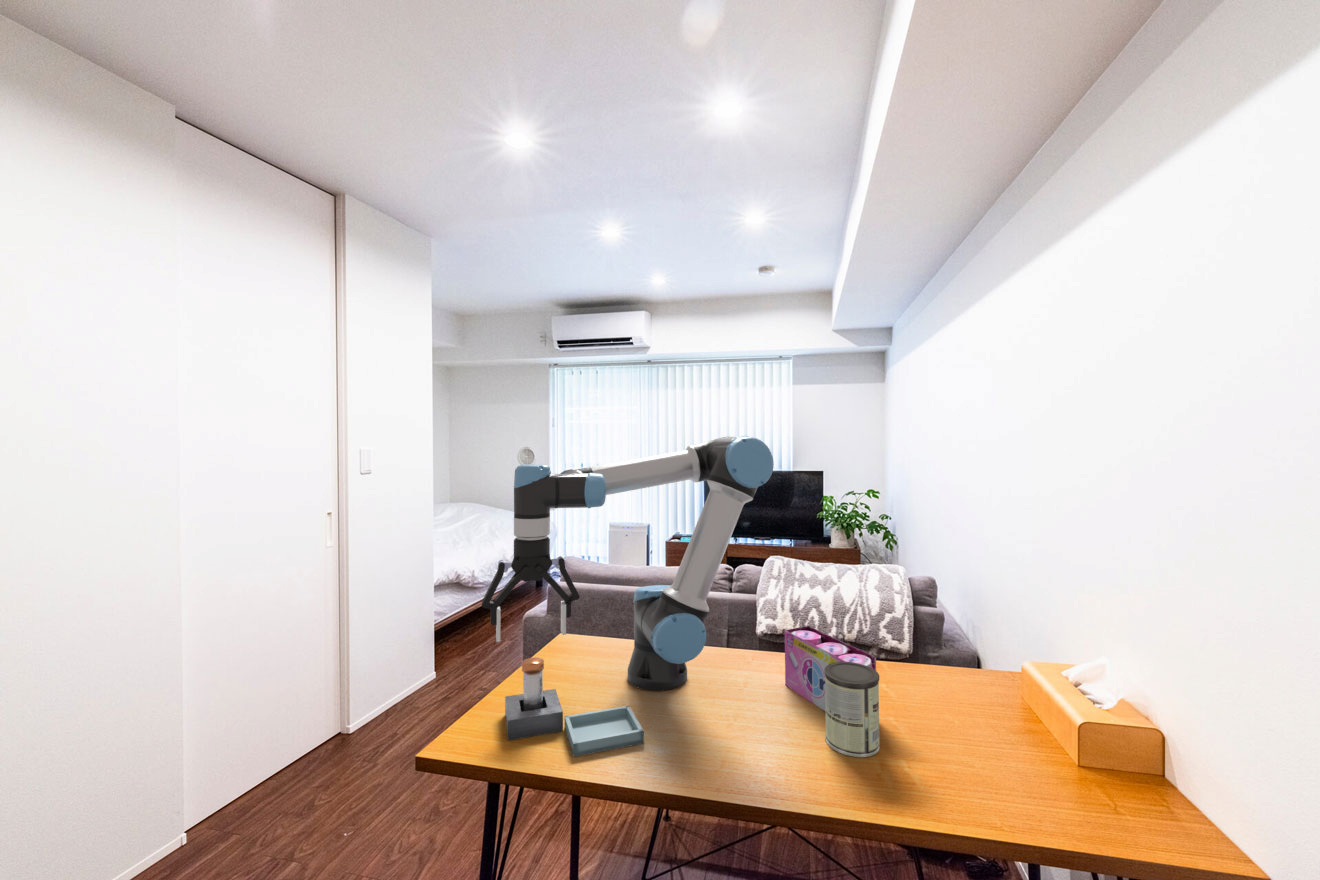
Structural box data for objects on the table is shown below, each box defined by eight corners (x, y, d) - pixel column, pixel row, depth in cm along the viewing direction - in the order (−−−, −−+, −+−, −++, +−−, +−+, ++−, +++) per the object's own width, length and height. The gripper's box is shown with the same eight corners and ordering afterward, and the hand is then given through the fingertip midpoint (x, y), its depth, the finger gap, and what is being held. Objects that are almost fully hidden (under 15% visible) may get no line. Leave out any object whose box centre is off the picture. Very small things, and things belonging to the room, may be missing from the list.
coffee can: (825, 725, 115) (825, 658, 115) (878, 734, 111) (878, 665, 111) (823, 752, 105) (823, 679, 105) (881, 762, 101) (880, 686, 101)
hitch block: (555, 706, 123) (555, 688, 123) (562, 730, 113) (562, 711, 113) (505, 714, 120) (505, 696, 120) (508, 740, 110) (507, 720, 110)
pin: (542, 715, 119) (542, 656, 119) (545, 726, 115) (545, 664, 115) (521, 719, 118) (521, 659, 118) (523, 729, 114) (522, 667, 114)
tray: (629, 716, 119) (629, 705, 119) (643, 743, 108) (643, 730, 108) (564, 728, 114) (564, 716, 114) (573, 756, 104) (573, 743, 104)
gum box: (883, 724, 115) (883, 659, 115) (854, 732, 112) (854, 666, 112) (809, 679, 137) (809, 625, 137) (783, 684, 134) (783, 629, 134)
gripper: (586, 531, 124) (585, 624, 124) (470, 536, 116) (469, 636, 116) (592, 536, 117) (592, 635, 117) (470, 543, 109) (469, 649, 109)
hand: (531, 636), depth 116 cm, fingers open, 13 cm apart
